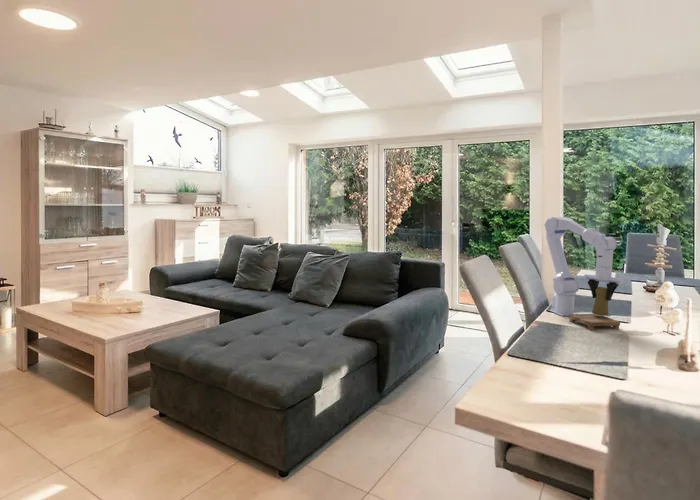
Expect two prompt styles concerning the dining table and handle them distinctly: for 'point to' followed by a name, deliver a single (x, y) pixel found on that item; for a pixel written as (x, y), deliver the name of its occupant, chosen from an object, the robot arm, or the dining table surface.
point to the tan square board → (594, 320)
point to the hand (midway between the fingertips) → (601, 299)
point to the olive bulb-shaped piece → (600, 302)
